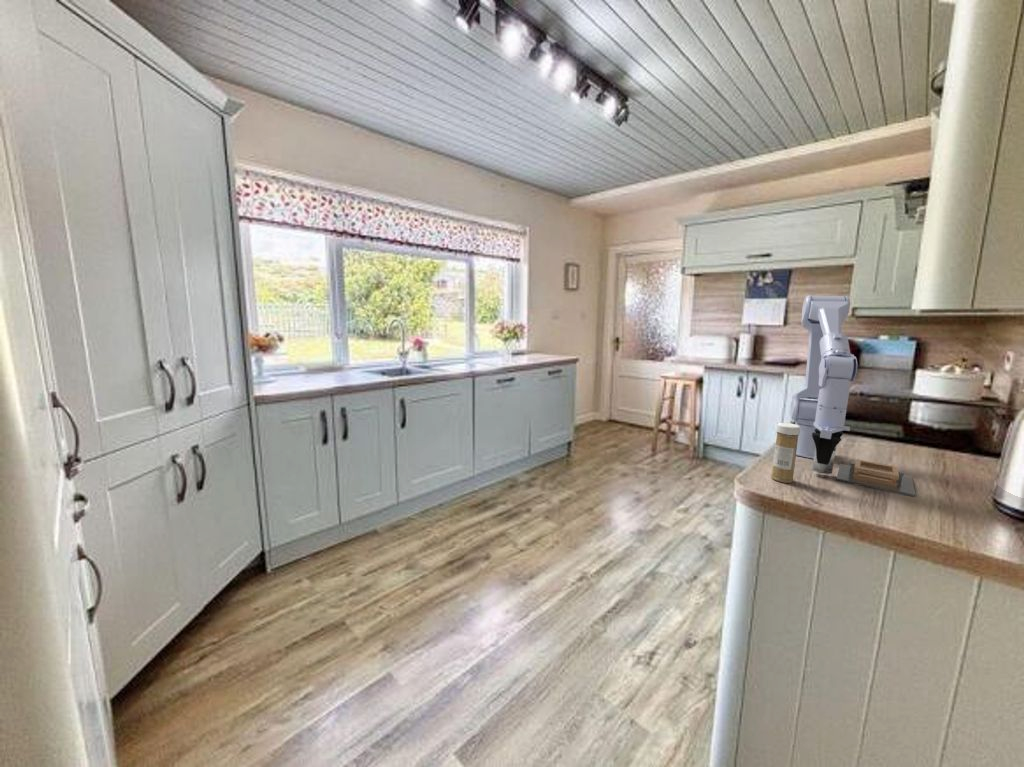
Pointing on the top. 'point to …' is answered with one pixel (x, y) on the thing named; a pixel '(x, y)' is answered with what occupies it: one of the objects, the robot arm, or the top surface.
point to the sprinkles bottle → (785, 452)
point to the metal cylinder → (822, 467)
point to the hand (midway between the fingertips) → (823, 461)
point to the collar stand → (876, 477)
